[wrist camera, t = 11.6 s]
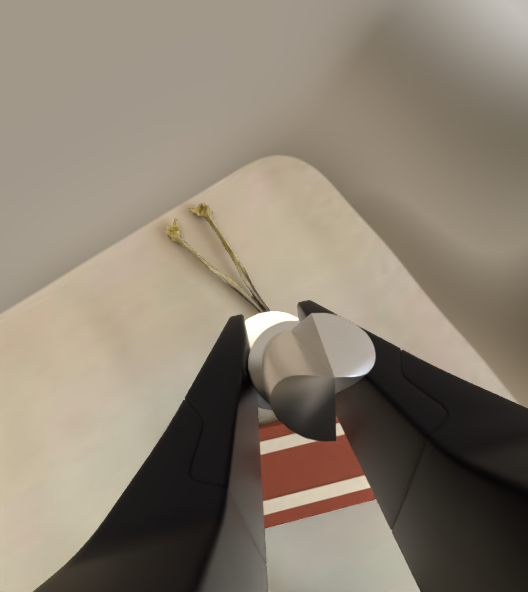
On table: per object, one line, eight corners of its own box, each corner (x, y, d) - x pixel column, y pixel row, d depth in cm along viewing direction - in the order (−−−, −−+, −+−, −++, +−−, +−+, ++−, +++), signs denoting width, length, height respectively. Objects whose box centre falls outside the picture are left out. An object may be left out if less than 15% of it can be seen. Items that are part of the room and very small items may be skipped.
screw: (236, 408, 14) (226, 323, 15) (321, 394, 15) (305, 311, 16) (46, 830, 2) (62, 176, 3) (734, 672, 2) (498, 123, 3)
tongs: (270, 342, 20) (271, 340, 18) (166, 236, 23) (157, 225, 21) (306, 306, 21) (310, 300, 19) (202, 206, 23) (196, 193, 21)
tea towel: (371, 399, 20) (376, 401, 19) (395, 486, 18) (402, 493, 17) (188, 442, 19) (185, 447, 18) (201, 537, 17) (198, 546, 17)
